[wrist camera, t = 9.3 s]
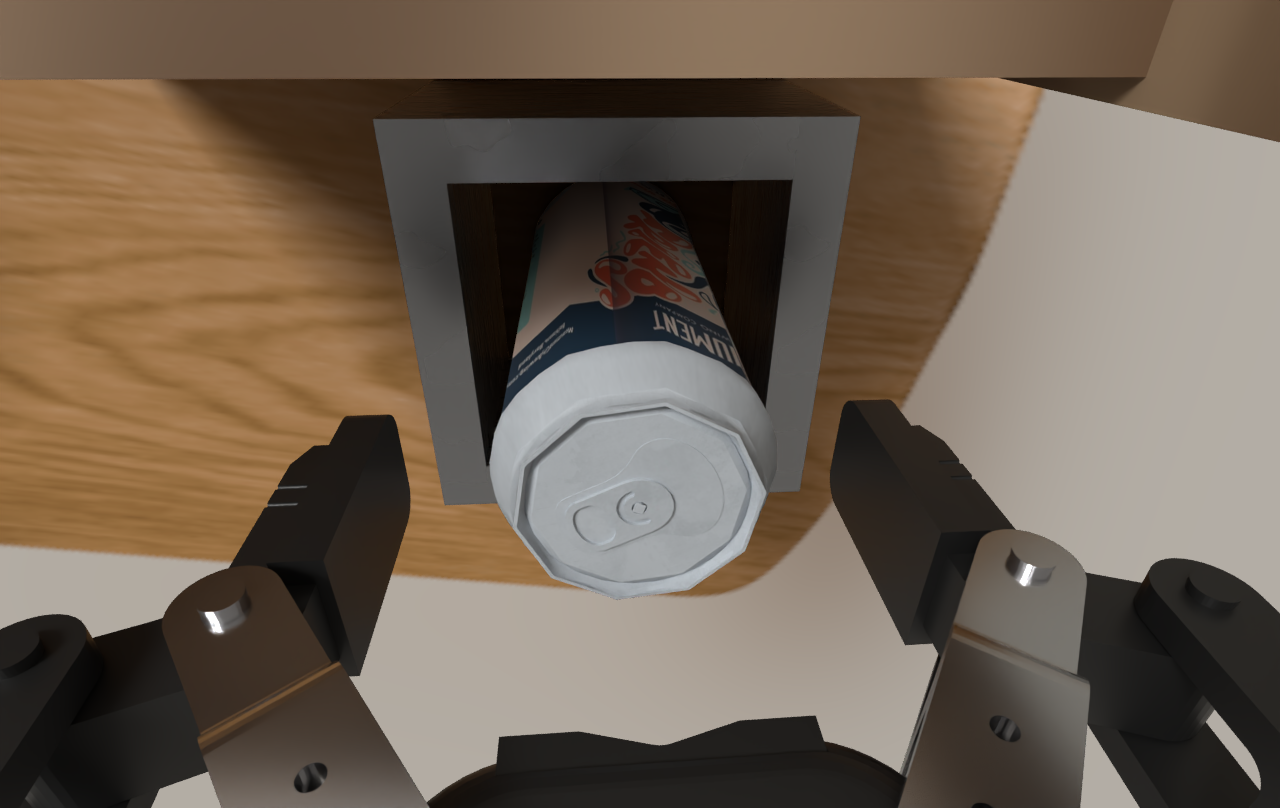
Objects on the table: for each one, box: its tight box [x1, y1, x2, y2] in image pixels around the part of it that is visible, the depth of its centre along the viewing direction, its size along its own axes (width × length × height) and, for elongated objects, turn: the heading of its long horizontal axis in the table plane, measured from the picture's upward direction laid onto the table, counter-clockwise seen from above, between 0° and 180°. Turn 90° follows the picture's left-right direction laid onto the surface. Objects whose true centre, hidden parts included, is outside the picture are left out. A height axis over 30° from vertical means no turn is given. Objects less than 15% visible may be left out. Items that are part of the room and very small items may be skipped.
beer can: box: [490, 181, 777, 600], centre depth 16 cm, size 5×5×12 cm
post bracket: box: [373, 80, 861, 505], centre depth 18 cm, size 9×9×6 cm
